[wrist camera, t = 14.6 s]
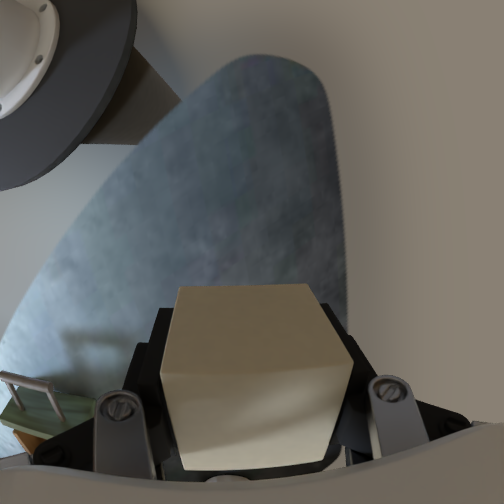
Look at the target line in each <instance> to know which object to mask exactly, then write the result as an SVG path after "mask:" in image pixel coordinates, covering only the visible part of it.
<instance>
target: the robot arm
mask: <svg viewBox="0 0 504 504" xmlns="http://www.w3.org/2000/svg"><path fill="white" fill-rule="evenodd" d="M59 30H60V21H59V14H58V12H57V9H56V7H55V6H54V5H53V3H52V2H51V1H49V0H0V119H2V118H4V117H6V116H8V115H9V114H11V113H13V112H14V111H15V110H16V109H17V108H19V107H20V106H21V105H22V104H23V103H24V102H25V101H26V100H27V99H28V98H29V97H30V95H31V94H32V93H33V91H34V90H35V89H36V87H37V86H38V85H39V83H40V81H41V79H42V78H43V76H44V75H45V73H46V71H47V69H48V67H49V65H50V63H51V61H52V58H53V55H54V52H55V50H56V47H57V42H58V38H59ZM320 306H321V308H322V309H323V311H324V313H325V314H326V316H327V317H328V319H329V321H330V322H331V324H332V326H333V327H334V329H335V331H336V332H337V334H338V336H339V338H340V339H341V341H342V343H343V344H344V346H345V348H346V349H347V351H348V353H349V354H350V356H351V358H352V360H353V362H354V364H353V368H352V371H351V375H350V379H349V382H348V386H347V389H346V392H345V396H344V399H343V402H342V406H341V409H340V412H339V415H338V418H337V421H336V424H335V427H334V430H333V433H332V436H331V439H330V441H329V444H330V445H333V444H338V443H340V444H341V445H343V446H345V454H346V467H343V468H338V469H333V470H329V471H323V472H318V473H312V474H306V475H299V476H292V477H284V478H276V479H266V480H254V481H238V482H175V481H167V479H166V474H165V469H164V464H163V461H165V460H166V459H168V458H169V457H171V456H176V451H177V447H178V446H177V443H176V439H175V435H174V432H173V428H172V424H171V420H170V416H169V412H168V408H167V403H166V399H165V395H164V390H163V386H162V381H161V376H160V370H161V365H162V360H163V355H164V351H165V346H166V342H167V337H168V333H169V328H170V324H171V320H172V315H173V311H174V308H159V311H158V314H157V317H156V320H155V323H154V327H153V330H152V333H151V336H150V340H149V343H141V342H139V343H138V344H137V346H136V348H135V351H134V354H133V357H132V360H131V363H130V366H129V369H128V372H127V375H126V378H125V382H124V385H123V388H122V390H114V391H110V392H108V393H105V394H104V395H102V396H101V397H100V398H99V399H98V401H97V402H96V404H95V408H94V417H93V418H91V419H89V420H87V421H85V422H83V423H81V424H79V425H77V426H75V427H73V428H71V429H69V430H67V431H65V432H63V433H60V434H58V435H56V436H54V437H52V438H50V439H48V440H46V441H44V442H42V443H41V444H39V445H38V447H37V448H36V449H35V451H34V453H33V454H31V455H29V453H28V452H24V453H20V454H16V455H13V456H9V457H4V458H0V504H504V423H487V422H479V421H472V423H471V424H470V422H469V421H468V419H467V418H465V417H464V416H463V415H461V414H459V413H456V412H453V411H449V410H446V409H443V408H440V407H437V406H434V405H430V404H427V403H424V402H421V401H418V400H416V399H415V398H414V395H413V392H412V390H411V388H410V386H409V384H408V383H407V382H405V381H404V380H403V379H401V378H399V377H396V376H393V375H382V376H377V374H376V372H375V371H374V369H373V368H372V366H371V365H370V363H369V362H368V360H367V358H366V357H365V355H364V354H363V352H362V351H361V350H360V348H359V346H358V345H357V343H356V341H355V340H354V338H353V337H352V336H351V335H348V334H347V333H346V331H345V330H344V328H343V327H342V325H341V323H340V322H339V320H338V319H337V317H336V316H335V314H334V313H333V311H332V310H331V308H330V306H329V305H328V304H327V303H323V304H320Z"/></svg>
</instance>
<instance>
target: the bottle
mask: <svg viewBox="0 0 504 504" xmlns="http://www.w3.org/2000/svg"><path fill="white" fill-rule="evenodd" d="M238 481H250V480H248V479H247V478H244V477H241V476H236V475H221V476H216V477H212V478H210V479H208V480H207V481H206V482H238Z"/></svg>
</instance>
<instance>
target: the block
mask: <svg viewBox="0 0 504 504" xmlns="http://www.w3.org/2000/svg"><path fill="white" fill-rule="evenodd" d="M353 364H354V362H353V360H352V358H351V356H350V354H349V353H348V351H347V349H346V348H345V346H344V344H343V343H342V341H341V339H340V338H339V336H338V334H337V332H336V331H335V329H334V327H333V326H332V324H331V322H330V321H329V319H328V317H327V316H326V314H325V313H324V311H323V309H322V308H321V306H320V304H319V303H318V301H317V299H316V298H315V296H314V294H313V293H312V291H311V290H310V288H309V286H308V285H307V284H284V285H249V286H186V287H179V291H178V295H177V299H176V303H175V307H174V311H173V315H172V320H171V324H170V328H169V333H168V337H167V342H166V346H165V351H164V355H163V360H162V365H161V370H160V376H161V381H162V386H163V390H164V395H165V399H166V403H167V408H168V412H169V416H170V420H171V424H172V428H173V432H174V435H175V439H176V443H177V446H178V450H179V453H180V457H181V460H182V464H183V467H184V469H185V470H241V469H257V468H268V467H278V466H287V465H294V464H302V463H308V462H314V461H320V460H323V458H324V455H325V452H326V450H327V447H328V444H329V441H330V439H331V436H332V433H333V430H334V427H335V424H336V421H337V418H338V415H339V412H340V409H341V406H342V402H343V399H344V396H345V392H346V389H347V386H348V382H349V379H350V375H351V371H352V368H353Z"/></svg>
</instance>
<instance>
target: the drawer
mask: <svg viewBox="0 0 504 504" xmlns="http://www.w3.org/2000/svg"><path fill="white" fill-rule="evenodd" d="M0 379H1V381H3V382H5V383H6V385H7V387H8V389H9V391H10V393H11V395H12V398H11V399H10V401H9V402H8V404H7V406H6V407H5V409H4V410H3V412H2V414H1V415H0V421H1V422H2V424H3V425H5V426H8V427H11V428H13V429H14V430H13V434H14V435H15V437H16V438H17V440H18V441H19V443H20V444H21V445H22V447H23V448H24V450H25V451H26V452H28V453H29V455H31V454H33V453H34V451H35V449H36V448H37V447H38V445H39V444H41V443H42V442H44V441H46V440H48V439H50V438H52V437H54V436H56V435H58V434H60V433H63V432H65V431H67V430H69V429H71V428H73V427H75V426H77V425H79V424H81V423H83V422H85V421H87V420H89V419H91V418H93V417H94V408H95V404H96V400H95V399H94V398H88V397H82V396H76V395H70V394H65V393H60V392H55V391H53V390H54V386H53V383H52V382H49V381H44V380H39V379H35V378H30V377H26V376H22V375H18V374H14V373H10V372H7V371H1V372H0ZM13 384H14V385H17V386H19V387H18V389H17V390H15V388H14V386H13Z"/></svg>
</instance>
